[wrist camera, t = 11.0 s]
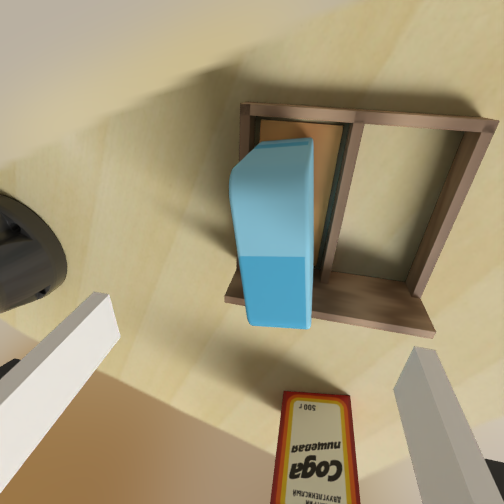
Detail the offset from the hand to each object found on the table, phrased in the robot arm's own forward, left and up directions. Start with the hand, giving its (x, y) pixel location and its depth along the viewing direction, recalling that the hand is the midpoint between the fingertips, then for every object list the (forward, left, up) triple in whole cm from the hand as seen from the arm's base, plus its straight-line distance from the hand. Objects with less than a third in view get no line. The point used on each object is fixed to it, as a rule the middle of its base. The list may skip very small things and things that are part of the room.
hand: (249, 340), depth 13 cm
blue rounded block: (0, 0, -18) cm, 18 cm away
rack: (+5, 0, -18) cm, 19 cm away
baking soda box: (+8, -32, -19) cm, 38 cm away
